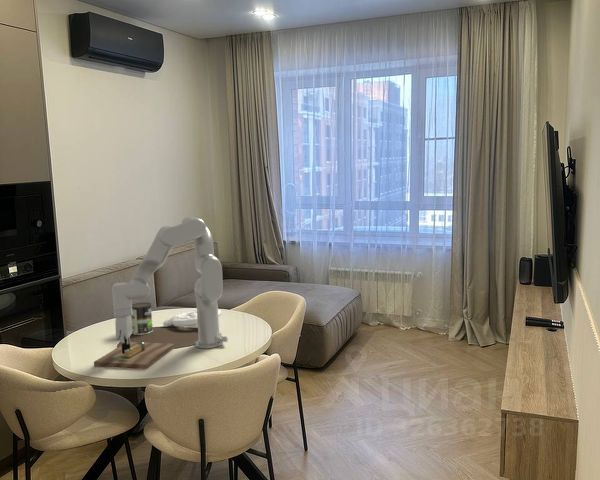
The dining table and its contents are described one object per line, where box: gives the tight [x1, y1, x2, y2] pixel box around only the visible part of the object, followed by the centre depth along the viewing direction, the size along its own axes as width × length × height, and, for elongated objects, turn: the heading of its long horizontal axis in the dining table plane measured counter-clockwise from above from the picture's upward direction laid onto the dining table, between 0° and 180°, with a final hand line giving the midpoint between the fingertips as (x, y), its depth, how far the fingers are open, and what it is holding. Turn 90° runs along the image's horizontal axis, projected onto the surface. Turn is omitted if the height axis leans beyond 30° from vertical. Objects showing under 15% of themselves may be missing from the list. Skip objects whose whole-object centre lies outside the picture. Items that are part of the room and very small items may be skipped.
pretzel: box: [162, 309, 222, 327], centre depth 279 cm, size 28×24×6 cm
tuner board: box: [93, 341, 176, 370], centre depth 231 cm, size 24×26×2 cm
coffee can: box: [131, 302, 154, 336], centre depth 267 cm, size 10×10×14 cm
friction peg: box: [125, 341, 146, 358], centre depth 229 cm, size 12×3×4 cm, turn 163°
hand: (126, 352), depth 228 cm, fingers closed
